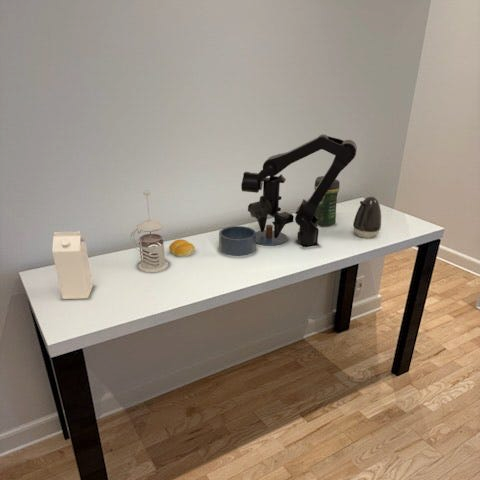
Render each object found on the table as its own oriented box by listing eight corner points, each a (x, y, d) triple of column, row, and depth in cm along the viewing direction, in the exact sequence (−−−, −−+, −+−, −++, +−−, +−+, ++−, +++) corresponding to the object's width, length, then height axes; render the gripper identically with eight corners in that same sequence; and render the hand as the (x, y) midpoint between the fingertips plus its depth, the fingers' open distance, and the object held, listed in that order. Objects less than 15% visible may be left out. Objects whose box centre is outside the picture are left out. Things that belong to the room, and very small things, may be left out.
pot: (248, 240, 164) (248, 224, 161) (260, 254, 154) (261, 237, 151) (215, 245, 161) (214, 228, 158) (225, 259, 150) (225, 241, 147)
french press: (160, 274, 140) (153, 197, 128) (127, 268, 143) (118, 193, 131) (173, 261, 149) (168, 187, 136) (142, 256, 151) (134, 184, 139)
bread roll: (180, 259, 150) (179, 248, 148) (166, 251, 156) (165, 240, 154) (200, 253, 154) (199, 242, 152) (185, 244, 160) (185, 234, 158)
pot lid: (278, 231, 173) (279, 217, 170) (293, 244, 162) (294, 230, 159) (245, 235, 169) (245, 221, 166) (258, 249, 158) (258, 234, 155)
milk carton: (68, 287, 132) (56, 227, 123) (93, 286, 133) (83, 227, 123) (62, 299, 126) (49, 237, 117) (88, 298, 127) (77, 237, 117)
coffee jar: (338, 224, 180) (344, 179, 171) (324, 228, 176) (329, 182, 167) (321, 217, 187) (326, 173, 178) (307, 220, 183) (311, 176, 174)
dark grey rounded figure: (345, 233, 172) (351, 195, 164) (365, 228, 177) (371, 191, 169) (364, 242, 164) (371, 203, 157) (384, 237, 169) (392, 198, 161)
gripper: (236, 191, 159) (236, 232, 166) (272, 205, 146) (269, 248, 154) (260, 186, 165) (258, 225, 172) (296, 198, 152) (292, 240, 160)
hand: (269, 234), depth 164 cm, fingers open, 7 cm apart
